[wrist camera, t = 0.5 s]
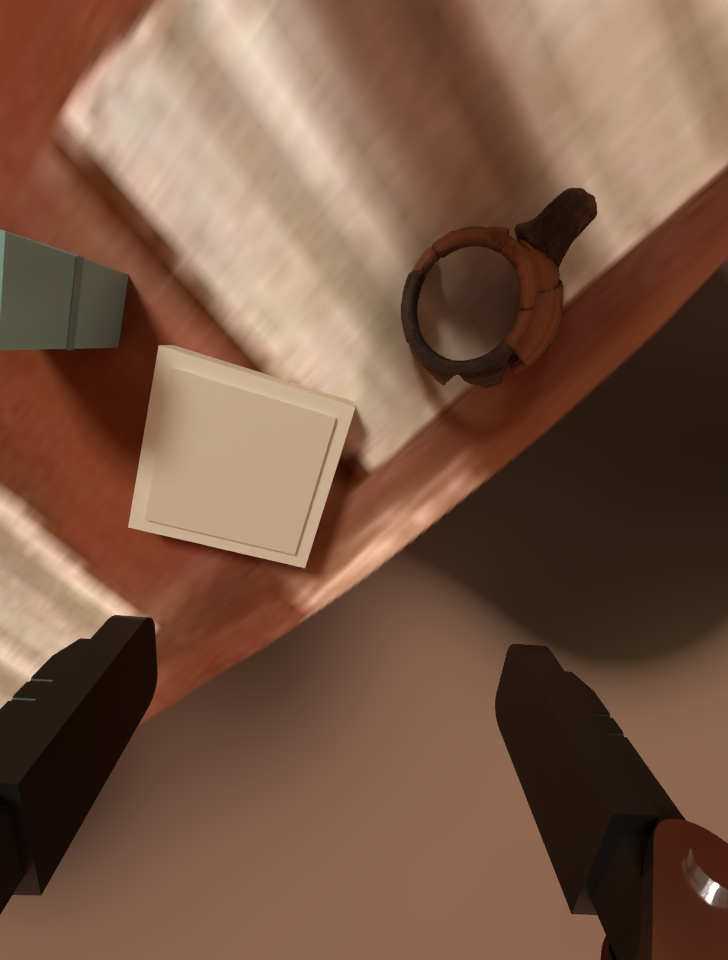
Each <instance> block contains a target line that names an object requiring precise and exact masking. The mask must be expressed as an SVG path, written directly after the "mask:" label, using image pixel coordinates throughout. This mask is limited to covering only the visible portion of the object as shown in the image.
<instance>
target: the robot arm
mask: <svg viewBox="0 0 728 960" xmlns="http://www.w3.org/2000/svg"><path fill="white" fill-rule="evenodd" d="M156 684H157V655H156V638H155V624H154V621H153V619H152V618H149V617H135V616H121V615H114V616H112V617H110V618H109V619H108V620H107V621H106V622H105V623H104V625H103V626H102V627H101V628H100V629H99V630H98V631H97V632H96V633H95V634H94V636H93V637H92V638H91V639H81V638H80V639H79V640H77V641H76V642H74V643H72V644H71V645H69V646H68V647H66V648H64V649H63V650H61V651H59V652H58V653H56V654H55V655H53V656H52V657H51V658H50V659H49V660H48V661H47V662H46V663H45V664H44V665H43V666H42V667H41V668H40V669H39V670H38V671H37V672H36V673H35V674H34V675H33V676H32V677H31V681H30V682H26V683H25V684H24V685H23V686H22V687H21V688H20V690H19V691H18V692H17V693H16V694H15V695H14V696H13V699H12V700H11V701H8V702H7V703H6V704H5V705H4V706H3V707H2V708H1V709H0V914H1V913H2V911H3V909H4V908H5V906H6V904H7V903H8V901H9V900H10V898H11V896H12V895H42V893H43V891H44V889H45V888H46V886H47V884H48V882H49V881H50V879H51V877H52V875H53V873H54V872H55V870H56V868H57V867H58V865H59V863H60V861H61V859H62V857H63V856H64V854H65V852H66V851H67V849H68V847H69V846H70V844H71V842H72V840H73V839H74V837H75V835H76V833H77V831H78V830H79V828H80V826H81V824H82V823H83V821H84V819H85V817H86V816H87V814H88V812H89V810H90V809H91V807H92V805H93V803H94V802H95V800H96V798H97V796H98V795H99V793H100V791H101V789H102V788H103V786H104V784H105V782H106V780H107V779H108V777H109V775H110V774H111V772H112V770H113V768H114V767H115V765H116V763H117V761H118V759H119V758H120V756H121V754H122V752H123V751H124V749H125V747H126V746H127V744H128V742H129V740H130V739H131V737H132V735H133V733H134V732H135V730H136V728H137V726H138V725H139V723H140V721H141V719H142V718H143V716H144V714H145V712H146V710H147V709H148V707H149V705H150V703H151V701H152V698H153V695H154V692H155V688H156ZM495 710H496V719H497V723H498V726H499V729H500V732H501V734H502V737H503V739H504V742H505V745H506V747H507V749H508V752H509V755H510V757H511V760H512V762H513V765H514V767H515V770H516V773H517V775H518V778H519V780H520V783H521V786H522V788H523V790H524V793H525V796H526V798H527V801H528V804H529V806H530V809H531V811H532V814H533V816H534V819H535V821H536V824H537V827H538V829H539V832H540V834H541V837H542V839H543V842H544V844H545V847H546V850H547V852H548V854H549V857H550V860H551V862H552V865H553V868H554V870H555V873H556V875H557V878H558V880H559V883H560V885H561V888H562V890H563V893H564V896H565V898H566V901H567V903H568V906H569V909H570V911H571V914H588V915H598V917H599V920H600V922H601V924H602V926H603V929H604V931H605V933H606V937H605V939H604V941H603V945H602V950H601V960H728V843H726V842H725V841H723V840H722V839H721V838H719V837H718V836H717V835H715V834H713V833H711V832H710V831H708V830H707V829H705V828H703V827H701V826H699V825H697V824H694V823H691V822H689V821H686V820H685V818H684V817H683V816H682V814H681V813H680V812H679V810H678V809H677V807H676V806H675V805H674V803H673V802H672V800H671V799H670V798H669V796H668V795H667V793H666V792H665V790H664V789H663V788H662V786H661V785H660V783H659V782H658V781H657V779H656V778H655V776H654V775H653V774H652V772H651V771H650V770H649V768H648V767H647V765H646V764H645V762H644V761H643V760H642V758H641V757H640V755H639V754H638V753H637V751H636V750H635V748H634V747H633V746H632V744H631V743H630V741H629V740H628V739H627V738H626V737H624V736H623V731H622V730H621V729H620V727H619V726H618V724H617V723H616V722H615V720H614V719H613V718H610V713H609V712H608V710H607V709H606V708H605V706H604V705H603V703H602V702H601V701H600V699H599V698H598V696H597V695H596V693H595V692H594V691H593V690H591V688H590V687H588V686H587V685H586V684H585V683H584V682H583V681H581V680H580V679H579V678H578V677H577V676H576V675H575V674H573V673H572V672H565V671H564V670H563V668H562V667H561V665H560V664H559V662H558V661H557V659H556V658H555V656H554V655H553V653H552V652H551V651H550V650H549V648H548V647H546V646H537V645H523V644H512V645H510V647H509V648H508V651H507V654H506V658H505V662H504V666H503V670H502V674H501V678H500V682H499V686H498V690H497V693H496V700H495Z"/></svg>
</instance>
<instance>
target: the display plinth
mask: <svg viewBox="0 0 728 960" xmlns="http://www.w3.org/2000/svg"><path fill="white" fill-rule="evenodd" d="M354 410H355V405H354V403H353V401H350V400H346V399H343V398H340V397H337V396H334V395H330V394H327V393H324V392H321V391H318V390H315V389H311V388H308V387H305V386H302V385H299V384H296V383H292V382H289V381H286V380H283V379H280V378H276V377H273V376H270V375H267V374H264V373H261V372H257V371H254V370H251V369H248V368H245V367H241V366H238V365H235V364H232V363H229V362H226V361H222V360H219V359H216V358H213V357H210V356H207V355H203V354H200V353H197V352H194V351H191V350H187V349H184V348H181V347H178V346H175V345H159V346H158V352H157V358H156V364H155V370H154V376H153V382H152V388H151V394H150V400H149V406H148V412H147V418H146V424H145V430H144V436H143V442H142V448H141V454H140V460H139V466H138V472H137V478H136V484H135V490H134V496H133V502H132V508H131V514H130V520H129V526H128V527H129V528H134V529H138V530H142V531H147V532H151V533H155V534H159V535H164V536H168V537H172V538H177V539H181V540H185V541H190V542H194V543H198V544H203V545H207V546H211V547H216V548H220V549H224V550H229V551H233V552H237V553H242V554H246V555H250V556H255V557H259V558H263V559H267V560H272V561H276V562H280V563H285V564H289V565H293V566H298V567H302V568H305V567H306V563H307V560H308V557H309V554H310V551H311V547H312V544H313V541H314V538H315V535H316V532H317V528H318V525H319V522H320V519H321V516H322V512H323V509H324V506H325V503H326V500H327V496H328V493H329V490H330V487H331V484H332V481H333V477H334V474H335V471H336V468H337V465H338V461H339V458H340V455H341V452H342V449H343V445H344V442H345V439H346V436H347V433H348V430H349V426H350V423H351V420H352V417H353V414H354Z"/></svg>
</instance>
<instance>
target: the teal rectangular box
mask: <svg viewBox="0 0 728 960" xmlns="http://www.w3.org/2000/svg"><path fill="white" fill-rule="evenodd" d="M128 276H129V275H128V274H125V273H122V272H120V271H117V270H114V269H111V268H108V267H105V266H102V265H100V264H97V263H94V262H91V261H88V260H85V259H84V258H83V257H80V256H77V255H74V254H71V253H69V252H66V251H63V250H60V249H57V248H54V247H51V246H48V245H45V244H42V243H39V242H36V241H33V240H30V239H27V238H24V237H21V236H18V235H15V234H13V233H10V232H7V231H4V230H1V229H0V350H34V349H65V350H74V349H83V348H119V341H120V333H121V326H122V319H123V312H124V305H125V298H126V290H127V283H128Z"/></svg>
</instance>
